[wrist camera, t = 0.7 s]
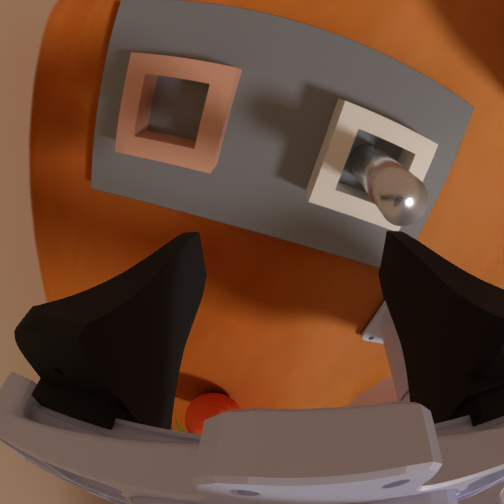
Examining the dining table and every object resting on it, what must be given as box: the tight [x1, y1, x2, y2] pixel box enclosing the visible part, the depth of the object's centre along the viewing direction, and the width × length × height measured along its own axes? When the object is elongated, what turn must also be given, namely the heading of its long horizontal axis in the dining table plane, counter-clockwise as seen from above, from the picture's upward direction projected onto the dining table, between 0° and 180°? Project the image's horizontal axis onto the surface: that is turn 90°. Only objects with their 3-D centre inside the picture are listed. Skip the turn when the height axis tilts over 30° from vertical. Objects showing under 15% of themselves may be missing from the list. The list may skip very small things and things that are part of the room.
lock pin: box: [349, 144, 428, 226], centre depth 15 cm, size 2×2×6 cm
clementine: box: [175, 393, 240, 434], centre depth 31 cm, size 8×7×7 cm
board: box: [91, 0, 474, 268], centre depth 17 cm, size 24×14×1 cm, turn 75°
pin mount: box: [306, 99, 438, 231], centre depth 16 cm, size 6×6×2 cm
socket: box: [115, 52, 242, 174], centre depth 16 cm, size 6×6×2 cm
